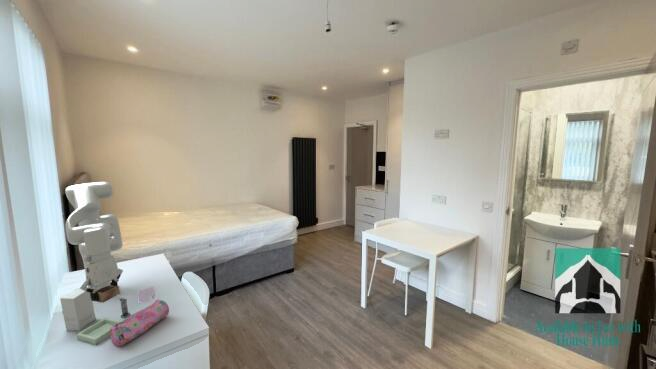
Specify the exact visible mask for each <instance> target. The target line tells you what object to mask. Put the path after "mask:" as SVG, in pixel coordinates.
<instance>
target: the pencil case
mask: <svg viewBox="0 0 656 369" xmlns="http://www.w3.org/2000/svg"><path fill="white" fill-rule="evenodd" d="M169 313H170V308H169V304H168V303H167V302H166V301H165V300H162V299H157V300H156V299H155V301H154V302H153V303H151V304H150V305H148V306H146V307H145V308H143V309H141V310H139V311H137V312H135V313H134V314H132V315H130V316H128V317H127V318H124V319H123V320H121V321H122V322H119V323H118V324H115V325H114V326H112V327H111V328H110V333H111V336H110V339H111V343H112V344H113V345H114V347H122V346H124V345H126V344H127V343H129V342H130V341H132V340H133V339H135V338H137V337H138V336H140V335H142V334H143V333H144V332H146V331H147V330H149V329H150V328H151V327H152V326H154V325H156V324H157V323H158V322H160V321H161V320H162V319H164V318H166V317H167V316H168V315H169Z"/></svg>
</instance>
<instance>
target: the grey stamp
mask: <svg viewBox="0 0 656 369" xmlns="http://www.w3.org/2000/svg"><path fill="white" fill-rule="evenodd" d="M127 299H128V298H124V297H121V298H120V299H119V301H120V308H121V315H120V319H127V318H129V317H131V312H129V310H128V309H129V308H128V300H127Z"/></svg>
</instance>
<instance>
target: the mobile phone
mask: <svg viewBox="0 0 656 369" xmlns="http://www.w3.org/2000/svg"><path fill="white" fill-rule="evenodd" d="M137 299H138V300H137V302H138V304H144V303H147V302H151V301H153V300H156V299H157V295H156V291H155V287H154V286H151V287H148V288H144V289H140V290H138V291H137Z"/></svg>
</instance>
